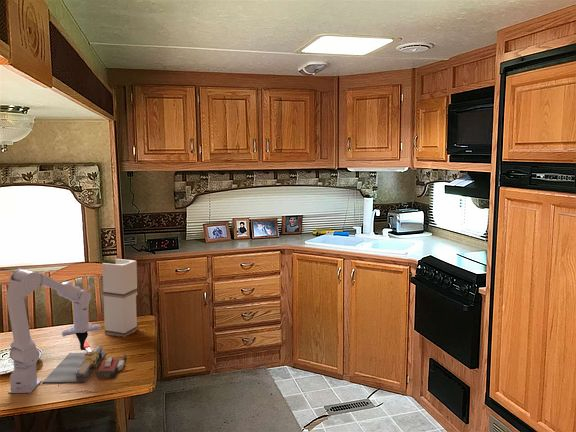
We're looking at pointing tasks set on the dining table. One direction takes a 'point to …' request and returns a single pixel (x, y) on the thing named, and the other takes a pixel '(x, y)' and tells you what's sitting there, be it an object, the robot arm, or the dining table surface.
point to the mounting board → (69, 369)
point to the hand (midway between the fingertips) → (82, 349)
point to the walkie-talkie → (110, 367)
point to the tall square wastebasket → (120, 297)
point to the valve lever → (88, 349)
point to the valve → (89, 362)
